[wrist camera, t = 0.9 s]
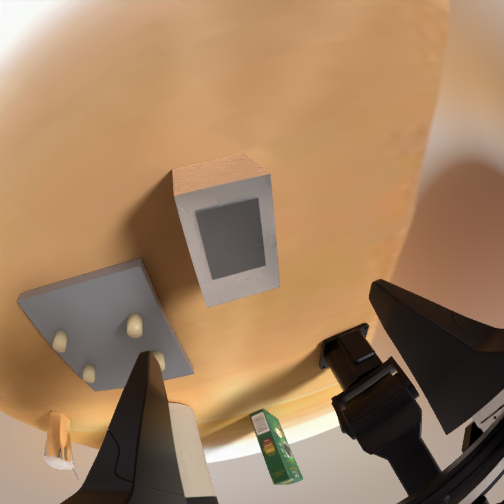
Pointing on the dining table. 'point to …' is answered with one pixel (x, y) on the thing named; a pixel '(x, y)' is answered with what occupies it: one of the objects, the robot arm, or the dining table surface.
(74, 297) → the pin tray
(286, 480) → the coffee box
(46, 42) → the dining table surface
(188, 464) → the travel mug
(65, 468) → the milkshake
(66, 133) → the dining table surface
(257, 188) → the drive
